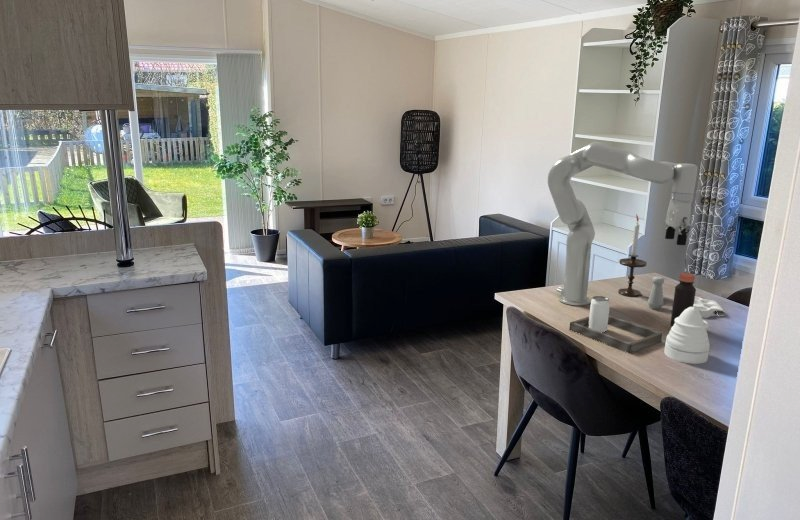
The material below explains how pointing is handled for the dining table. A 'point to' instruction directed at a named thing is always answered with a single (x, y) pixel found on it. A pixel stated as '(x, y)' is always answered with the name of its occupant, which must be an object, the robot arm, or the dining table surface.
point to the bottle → (683, 295)
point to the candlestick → (632, 265)
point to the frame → (650, 339)
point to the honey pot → (688, 337)
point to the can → (599, 313)
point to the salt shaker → (656, 294)
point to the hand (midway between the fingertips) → (675, 241)
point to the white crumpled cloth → (709, 307)
